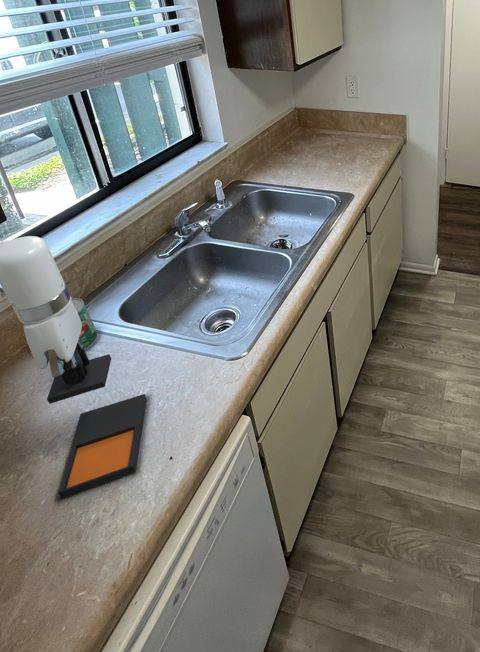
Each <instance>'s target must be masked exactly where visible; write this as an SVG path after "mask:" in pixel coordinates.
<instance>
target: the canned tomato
mask: <svg viewBox="0 0 480 652" xmlns="http://www.w3.org/2000/svg"><path fill="white" fill-rule="evenodd" d="M71 302H72V303H73V305H74V307H75V309H76V311H77V313H78V315H79V317H80V320H81V323H82V329H81V333H80V336H79V338H80V340H81V342H82V344H83V347H82V348H81V349H83V348H84V351H86V350H88V349H89V348H90V347H92V346H93V345H94V344H95V343H96V342H97V340H98V337H99V333H98V331H97V329H96V327H95V325H94V322H93V320H92V318H91V315H90V313H89V311H88V308H87V306H86V305H85V301H84V299H81V298H78V297H77V298H75V297H74V298H71Z"/></svg>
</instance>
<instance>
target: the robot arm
mask: <svg viewBox="0 0 480 652" xmlns="http://www.w3.org/2000/svg"><path fill="white" fill-rule="evenodd" d="M0 287H1V289H2V290H3V292H4V294H5V296H6V298H7V299H8V302H9V303H10V305H11V307H12V309H13V311H14V313H15V314H16V316H17V318H18V320H19V322H20V323H22V324H23V327H22V328H23V331H24V336H25V339H26V342H27V345H28V347H29V350H30V353H31V355H32V357H33V359H34V361H35V363H36V366H37V367H38V368H39V370H44V369H47V367H48V364H49V367H50V374H51V377H52V378H54V377H56V376H59V375H61V376H62V378H63V380H64V382H65V383H66V384H70V383H73V382H76V381H80V380H83V379H85V377H86V375H85V373H84V371H83V369H82V367H81V365H80V362H78V363H77V362H76V360H75V357H74V355H73V354H74V351H75V348H76V349H77V350H78V353H79V355H80V357H81V359H82V361H83V363H84V365H85V366H87V365H89V362H90V361H89V360H90V359H89V357H88V355H87V352H86V350H84V348H83V349H81V348H82V347H83V344H82V342H81V340H80V338H79V336H80V333H81V329H82V323H81V320H80V317H79V315H78V313H77V311H76V309H75V307H74V305H73V303H72V302H71V299H72V296H71V294H70V292H69V289H68V287H67V285H66V282H65V281H64V279H63V276H62V274H61V272H60V270H59V267H58V265H57V263H56V260H55V259H54V256H53V254H52V252H51V249H50V247H49V245H48V244H47V242H46V240H44V239H43V238H42V237H39V236H35V235H27V236H21V237H17V238H13V239H11V240H0ZM63 360H65V361H66V362H67V363H62V362H63ZM68 361H69V362H68Z"/></svg>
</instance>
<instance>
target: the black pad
mask: <svg viewBox="0 0 480 652" xmlns="http://www.w3.org/2000/svg"><path fill="white" fill-rule="evenodd" d="M73 355H74V357H75V360H76V362H77V363H78V362H80V365H81V367H82V369H83V371H84V373H85V375H86V377H85V379H83V380H80V381H76V382H73V383H70V384H66V383H65V382H64V380H63V378H62V376H61V375H59V376H56V377H53V380H52V384H51V386H50V390H49V392H48V395H47V398H46V400H47V402H48V405H51V404H54V403H57V402H60V401H64V400H66V399H69V398H73V397H76V396H80V395H83V394H86V393H89V392H92V391H96V390H99V389H103V388H105V387H106V383H107V379H108V376H109V371H110V368H111V367H110V366H111V362H112V357H111V354H110V353H107V354H105V355H102V356H97V357H94V358H91V359H89V361H90V362H89V365H87V366H85V365H84V363H83V361H82V359H81V357H80V355H79V353H78V350H77V349H76V348H75V351H74V354H73ZM68 362H69V361H68ZM64 363H67V362H66V361H65V360H63V361H62V364H64Z"/></svg>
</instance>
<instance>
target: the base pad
mask: <svg viewBox="0 0 480 652" xmlns="http://www.w3.org/2000/svg"><path fill="white" fill-rule="evenodd" d="M147 401H148V399H147V396H146V394H145V393H143V394H139V395H136V396H133V397H130V398H126V399H123V400H121V401H117V402H113V403H111V404H107V405H104V406H101V407H97V408H95V409H92V410H88V411H84V412H82V413H80V414H79V418H78V421H77V425H76V429H75V431H74V435H73V439H72V441H71V445H70V451H69V454H68V457H67V461H66V465H65V468H64V471H63V476H62V477H61V482H60V486H59V489H58V493H57V494H58V495H59V498H60V499H64V498H67V497H70V496H72V495H76V494H78V493H82V492H84V491H86V490H89V489H93V488H94V487H97V486H101V485H103V484H106V483H108V482H109V483H110V482H111V481H114V480H117V479H120V478H123V477H126V476H128V475H131V474H134V473H136V472H137V466H138V460H139V453H140V447H141V440H142V433H143V427H144V420H145V414H146V408H147Z"/></svg>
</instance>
